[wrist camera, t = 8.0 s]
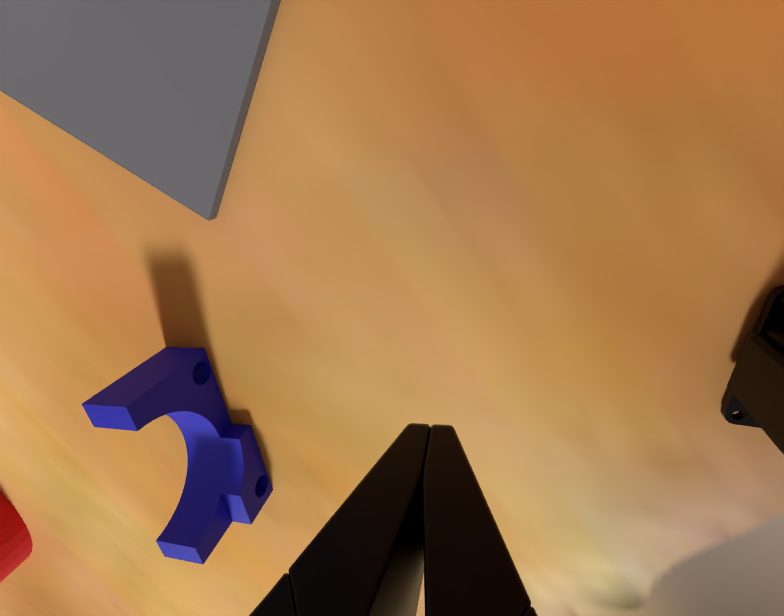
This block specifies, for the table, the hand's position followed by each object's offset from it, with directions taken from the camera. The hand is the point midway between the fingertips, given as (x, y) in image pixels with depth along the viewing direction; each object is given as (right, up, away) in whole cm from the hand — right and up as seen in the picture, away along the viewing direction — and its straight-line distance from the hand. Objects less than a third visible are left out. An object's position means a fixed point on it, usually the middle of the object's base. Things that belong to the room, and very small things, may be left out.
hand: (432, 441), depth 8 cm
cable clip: (-12, -5, +20) cm, 24 cm away
